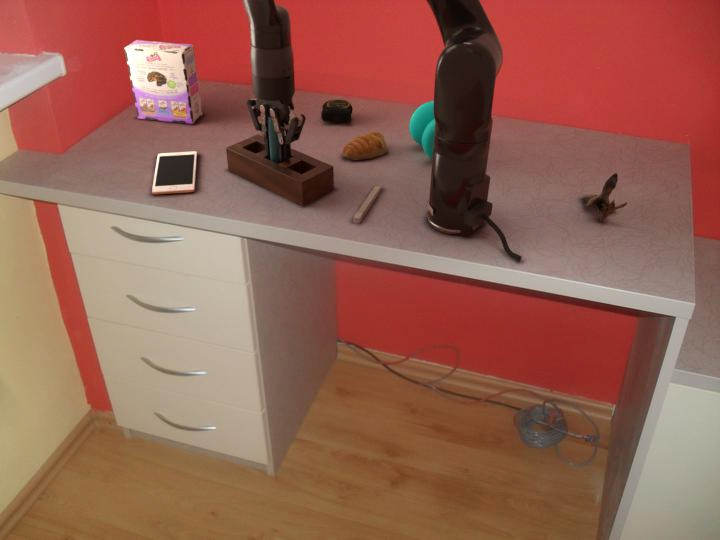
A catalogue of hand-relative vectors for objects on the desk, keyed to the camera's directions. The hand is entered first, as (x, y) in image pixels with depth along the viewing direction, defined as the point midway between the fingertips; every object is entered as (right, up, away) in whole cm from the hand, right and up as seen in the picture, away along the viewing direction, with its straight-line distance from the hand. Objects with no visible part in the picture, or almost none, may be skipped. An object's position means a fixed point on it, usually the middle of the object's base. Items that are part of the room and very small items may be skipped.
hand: (278, 156), depth 134 cm
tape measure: (+11, +12, +26) cm, 30 cm away
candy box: (-28, +13, +27) cm, 41 cm away
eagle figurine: (+60, -11, -5) cm, 61 cm away
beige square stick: (+17, -10, -4) cm, 20 cm away
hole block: (0, -4, +3) cm, 5 cm away
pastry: (+17, +3, +13) cm, 21 cm away
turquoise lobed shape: (+32, +3, +13) cm, 34 cm away
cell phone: (-21, -3, +5) cm, 21 cm away
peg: (0, -4, +3) cm, 5 cm away
